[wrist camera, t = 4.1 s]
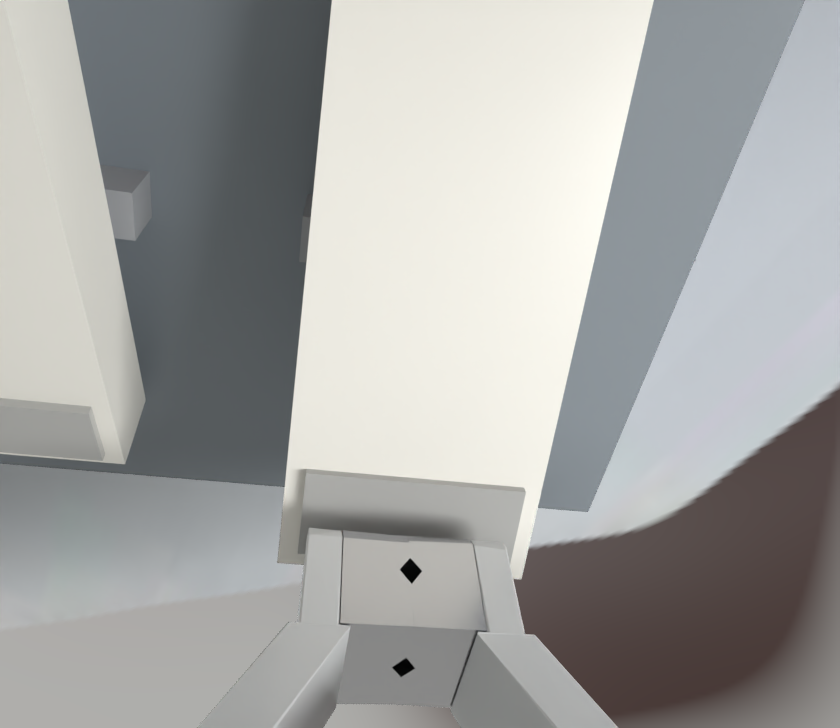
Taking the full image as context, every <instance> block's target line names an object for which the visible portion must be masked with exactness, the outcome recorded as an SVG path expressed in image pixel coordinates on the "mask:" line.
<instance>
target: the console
mask: <svg viewBox="0 0 840 728" xmlns="http://www.w3.org/2000/svg"><path fill="white" fill-rule="evenodd" d="M804 1H805V0H654V2H653V6H652V10H651V15H650V19H649V23H648V28H647V32H646V36H645V41H644V45H643V50H642V54H641V58H640V63H639V67H638V71H637V76H636V80H635V85H634V89H633V93H632V98H631V102H630V106H629V111H628V115H627V120H626V124H625V128H624V133H623V137H622V141H621V146H620V150H619V155H618V159H617V163H616V168H615V172H614V176H613V181H612V185H611V190H610V194H609V198H608V203H607V207H606V211H605V216H604V220H603V224H602V229H601V233H600V238H599V242H598V246H597V251H596V255H595V259H594V264H593V268H592V273H591V277H590V281H589V286H588V290H587V294H586V299H585V303H584V308H583V312H582V316H581V321H580V325H579V329H578V334H577V338H576V343H575V347H574V351H573V356H572V360H571V364H570V369H569V373H568V377H567V382H566V386H565V391H564V395H563V399H562V404H561V408H560V412H559V417H558V421H557V426H556V430H555V434H554V439H553V443H552V447H551V452H550V456H549V461H548V465H547V469H546V474H545V478H544V482H543V487H542V491H541V496H540V500H539V504H538V508H546V509H558V510H570V511H582V512H588V511H589V508H590V506H591V504H592V501H593V499H594V497H595V494H596V492H597V489H598V487H599V485H600V482H601V480H602V478H603V475H604V473H605V471H606V468H607V466H608V464H609V461H610V459H611V456H612V454H613V452H614V449H615V447H616V445H617V442H618V440H619V438H620V435H621V433H622V431H623V428H624V426H625V423H626V421H627V419H628V416H629V414H630V412H631V409H632V407H633V405H634V402H635V400H636V397H637V395H638V393H639V390H640V388H641V386H642V383H643V381H644V379H645V376H646V374H647V372H648V369H649V367H650V364H651V362H652V360H653V357H654V355H655V353H656V350H657V348H658V346H659V343H660V341H661V338H662V336H663V334H664V331H665V329H666V327H667V324H668V322H669V320H670V317H671V315H672V313H673V310H674V308H675V305H676V303H677V301H678V298H679V296H680V294H681V291H682V289H683V287H684V284H685V282H686V279H687V277H688V275H689V272H690V270H691V268H692V265H693V263H694V261H695V258H696V256H697V254H698V251H699V249H700V246H701V244H702V242H703V239H704V237H705V235H706V232H707V230H708V228H709V225H710V223H711V220H712V218H713V216H714V213H715V211H716V209H717V206H718V204H719V202H720V199H721V197H722V195H723V192H724V190H725V187H726V185H727V183H728V180H729V178H730V176H731V173H732V171H733V169H734V166H735V164H736V161H737V159H738V157H739V154H740V152H741V150H742V147H743V145H744V143H745V140H746V138H747V136H748V133H749V131H750V128H751V126H752V124H753V121H754V119H755V117H756V114H757V112H758V110H759V107H760V105H761V102H762V100H763V98H764V95H765V93H766V91H767V88H768V86H769V84H770V81H771V79H772V77H773V74H774V72H775V69H776V67H777V65H778V62H779V60H780V58H781V55H782V53H783V51H784V48H785V46H786V44H787V41H788V39H789V36H790V34H791V32H792V29H793V27H794V25H795V22H796V20H797V18H798V15H799V13H800V10H801V8H802V6H803V3H804ZM68 4H69V9H70V14H71V20H72V25H73V30H74V35H75V40H76V45H77V50H78V55H79V61H80V66H81V71H82V76H83V81H84V86H85V91H86V96H87V101H88V107H89V112H90V117H91V122H92V127H93V132H94V137H95V142H96V148H97V153H98V158H99V163H100V168H101V173H102V178H103V183H104V189H105V194H106V199H107V204H108V209H109V214H110V219H111V224H112V230H113V235H114V240H115V245H116V250H117V255H118V260H119V265H120V271H121V276H122V281H123V286H124V291H125V296H126V301H127V306H128V311H129V317H130V322H131V327H132V332H133V337H134V342H135V347H136V352H137V358H138V363H139V368H140V373H141V378H142V383H143V388H144V393H145V399H146V401H145V404H144V407H143V410H142V413H141V416H140V419H139V423H138V426H137V429H136V432H135V435H134V438H133V441H132V444H131V448H130V451H129V454H128V457H127V460H126V463H125V464H115V463H103V462H91V461H80V460H68V459H56V458H44V457H32V456H20V455H9V454H0V463H2V464H14V465H26V466H38V467H50V468H62V469H74V470H86V471H98V472H110V473H122V474H135V475H147V476H159V477H171V478H183V479H195V480H207V481H219V482H231V483H243V484H255V485H268V486H280V487H285V479H286V468H287V458H288V448H289V438H290V427H291V417H292V407H293V396H294V386H295V376H296V365H297V355H298V345H299V334H300V324H301V314H302V303H303V293H304V283H305V272H306V262H307V252H308V241H309V231H310V221H311V210H312V200H313V190H314V179H315V169H316V159H317V149H318V138H319V128H320V118H321V107H322V97H323V87H324V76H325V66H326V56H327V45H328V35H329V25H330V14H331V4H332V0H68Z"/></svg>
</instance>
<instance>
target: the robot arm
mask: <svg viewBox="0 0 840 728" xmlns="http://www.w3.org/2000/svg"><path fill="white" fill-rule="evenodd" d="M336 704H398V705H413V706H428V707H443V708H451V710H450V711H451V713H452V715H453V716H454V718H455V719H456V721H457V723H458V724H459V726H460V727H461V728H618V727H617V726H616V725H615V724H614V723H613V722H612V720H611V719H610V718H609V717H608V716H607V715H606V714H605V713H604V711H603V710H602V709H601V708H600V707H599V706H598V705H597V704H596V703H595V701H594V700H593V699H592V698H591V697H590V696H589V695H588V694H587V693H586V692H585V690H584V689H583V688H582V687H581V686H580V685H579V684H578V683H577V682H576V680H575V679H574V678H573V677H572V676H571V675H570V674H569V673H568V671H567V670H566V669H565V668H564V667H563V666H562V665H561V664H560V663H559V661H557V659H556V658H555V657H554V656H553V655H552V654H551V653H550V651H549V650H548V649H547V648H546V647H545V646H544V645H543V644H542V643H541V641H540V640H539V639H538V638H537V637H536V636H535V635H528V634H525V631H524V627H523V622H522V618H521V614H520V608H519V604H518V599H517V595H516V590H515V586H514V581H513V576H512V572H511V567H510V562H509V558H508V553H507V549H506V546H505V545H504V544H503V542H496V541H481V540H470V541H469V540H468V539H454V538H437V537H421V536H396V535H386V534H376V533H366V532H355V531H345V530H343V532H342V531H340V530H329V529H319V528H309V529H308V534H307V540H306V549H305V557H304V566H303V575H302V583H301V592H300V602H299V609H298V619H297V622H288V623H287V624H286V625H285V627H284V628H283V629H282V630H281V631H280V632H279V633H278V634H277V636H276V637H275V638H274V639H273V640H272V641H271V643H270V644H269V645H268V646H267V647H266V648H265V649H264V651H263V652H262V653H261V654H260V655H259V656H258V658H257V659H256V660H255V661H254V662H253V664H252V665H251V666H250V667H249V668H248V669H247V670H246V672H245V673H244V674H243V675H242V676H241V677H240V678H239V680H238V681H237V682H236V683H235V684H234V686H233V687H232V688H231V689H230V690H229V692H227V694H226V695H225V696H224V697H223V698H222V699H221V701H220V702H219V703H218V704H217V705H216V707H214V709H213V710H212V711H211V712H210V713H209V715H208V716H207V717H206V718H205V719H204V720H203V721H202V723H201V724H200V725H199V726H198V727H197V728H323V727H324V726H325V724H326V723H327V721H328V719H329V718H330V716H331V715H332V713H333V712H334V710H335V708H336Z"/></svg>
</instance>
